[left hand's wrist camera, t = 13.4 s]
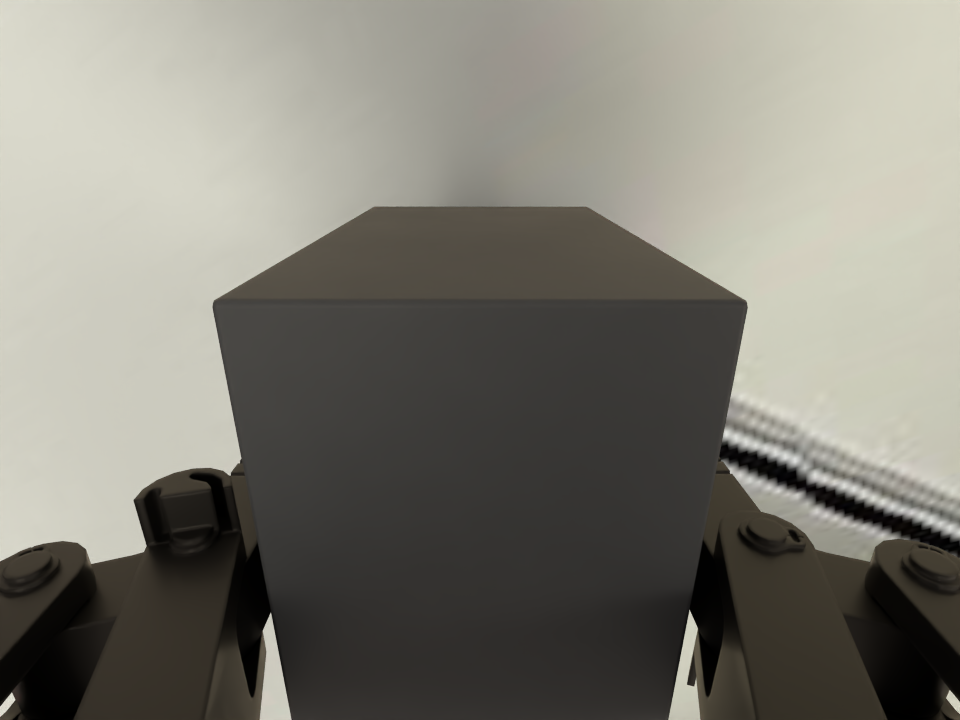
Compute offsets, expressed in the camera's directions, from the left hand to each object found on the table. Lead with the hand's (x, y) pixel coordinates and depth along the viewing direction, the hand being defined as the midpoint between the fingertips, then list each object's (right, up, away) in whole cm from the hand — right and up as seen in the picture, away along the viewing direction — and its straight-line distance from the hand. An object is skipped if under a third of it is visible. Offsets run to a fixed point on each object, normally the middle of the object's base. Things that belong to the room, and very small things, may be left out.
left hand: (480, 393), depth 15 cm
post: (0, -21, +9) cm, 23 cm away
